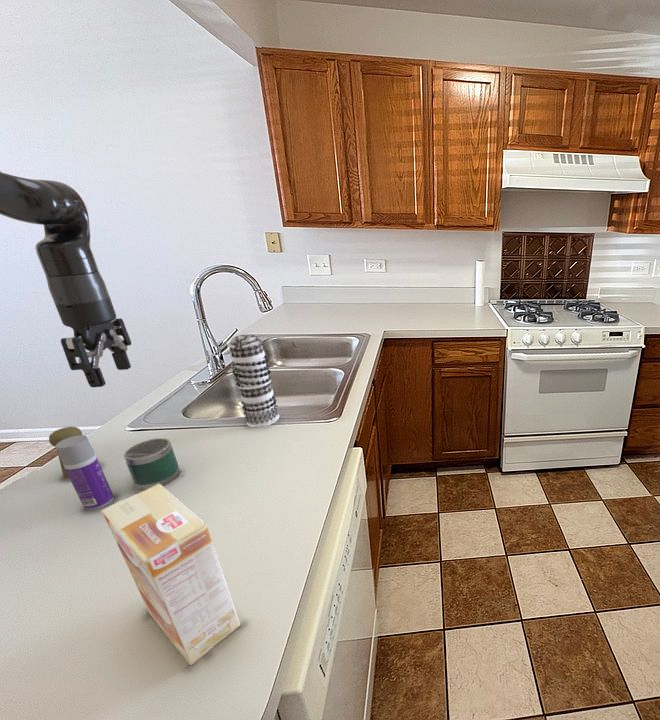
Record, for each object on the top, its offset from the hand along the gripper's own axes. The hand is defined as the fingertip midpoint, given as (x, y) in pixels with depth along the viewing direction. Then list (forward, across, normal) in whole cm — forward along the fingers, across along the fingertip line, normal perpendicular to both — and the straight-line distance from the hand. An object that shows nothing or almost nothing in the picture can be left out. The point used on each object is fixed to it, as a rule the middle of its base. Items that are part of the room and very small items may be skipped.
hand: (112, 377), depth 79 cm
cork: (+26, -8, -18) cm, 32 cm away
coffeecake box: (+26, +38, +23) cm, 51 cm away
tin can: (+26, -1, +1) cm, 26 cm away
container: (+26, +5, -7) cm, 27 cm away
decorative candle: (+26, -24, +18) cm, 39 cm away
